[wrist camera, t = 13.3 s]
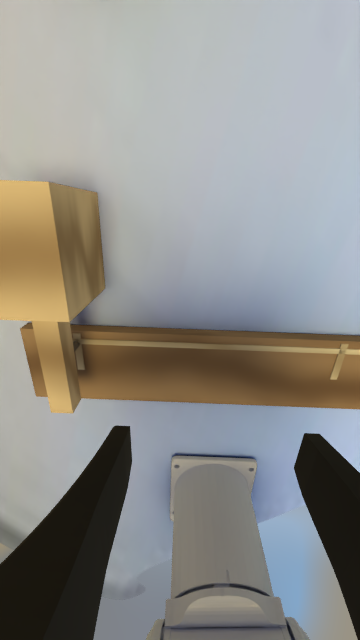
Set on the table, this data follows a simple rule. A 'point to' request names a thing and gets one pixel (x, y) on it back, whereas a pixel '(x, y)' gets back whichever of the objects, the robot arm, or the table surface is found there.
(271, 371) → the brown wooden flat strip
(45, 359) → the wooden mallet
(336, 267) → the table surface
